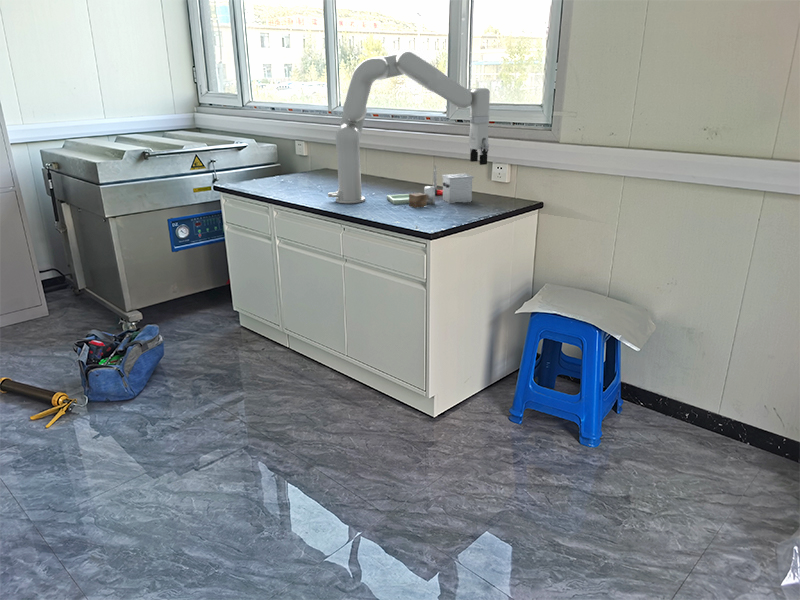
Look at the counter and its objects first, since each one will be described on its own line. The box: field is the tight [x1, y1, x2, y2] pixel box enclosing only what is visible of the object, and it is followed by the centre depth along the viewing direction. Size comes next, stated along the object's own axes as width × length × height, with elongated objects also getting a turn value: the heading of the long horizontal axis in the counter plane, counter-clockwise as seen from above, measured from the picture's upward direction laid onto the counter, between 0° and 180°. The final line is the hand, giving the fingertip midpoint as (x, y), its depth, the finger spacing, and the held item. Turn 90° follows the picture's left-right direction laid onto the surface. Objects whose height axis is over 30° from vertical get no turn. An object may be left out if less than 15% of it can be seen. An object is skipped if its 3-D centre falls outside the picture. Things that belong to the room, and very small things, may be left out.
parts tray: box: [386, 193, 410, 205], centre depth 247 cm, size 11×11×2 cm
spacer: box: [423, 185, 436, 206], centre depth 241 cm, size 4×4×7 cm
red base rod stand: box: [432, 165, 443, 196], centre depth 261 cm, size 8×13×9 cm
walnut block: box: [408, 192, 427, 209], centre depth 237 cm, size 5×5×5 cm
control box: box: [441, 172, 474, 204], centre depth 245 cm, size 11×9×11 cm
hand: (478, 162), depth 244 cm, fingers open, 9 cm apart
